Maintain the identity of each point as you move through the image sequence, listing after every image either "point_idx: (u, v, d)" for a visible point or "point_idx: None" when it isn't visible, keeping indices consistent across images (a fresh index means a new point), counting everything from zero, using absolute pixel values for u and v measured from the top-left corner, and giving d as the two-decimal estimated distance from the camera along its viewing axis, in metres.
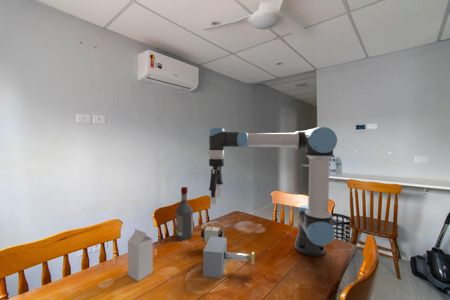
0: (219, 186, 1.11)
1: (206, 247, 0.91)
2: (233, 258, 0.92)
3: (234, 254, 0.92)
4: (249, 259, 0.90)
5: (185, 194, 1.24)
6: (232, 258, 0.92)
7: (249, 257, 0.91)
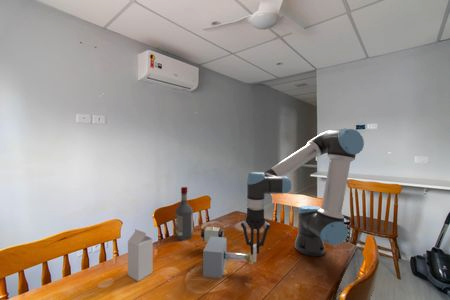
0: None
1: (206, 247, 0.91)
2: (232, 258, 0.92)
3: (233, 254, 0.92)
4: (247, 259, 0.91)
5: (185, 194, 1.24)
6: (230, 258, 0.92)
7: (247, 257, 0.91)
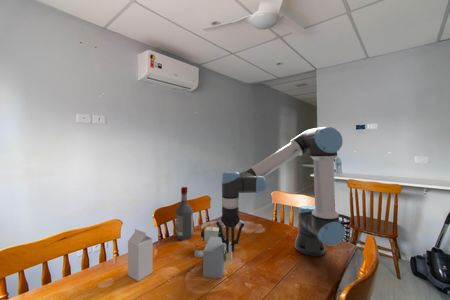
0: None
1: (206, 247, 0.91)
2: None
3: None
4: None
5: (185, 194, 1.24)
6: None
7: None
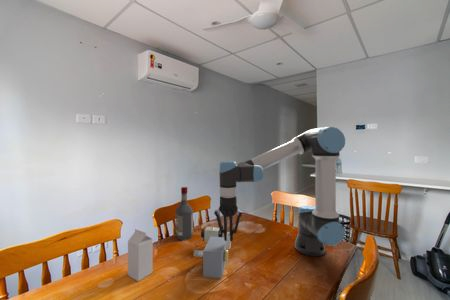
0: None
1: (206, 247, 0.91)
2: None
3: None
4: None
5: (185, 194, 1.24)
6: None
7: None
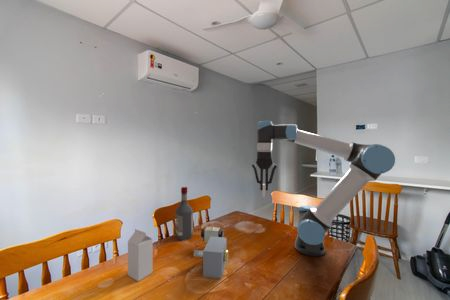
0: None
1: (206, 247, 0.91)
2: None
3: None
4: None
5: (185, 194, 1.24)
6: None
7: None
